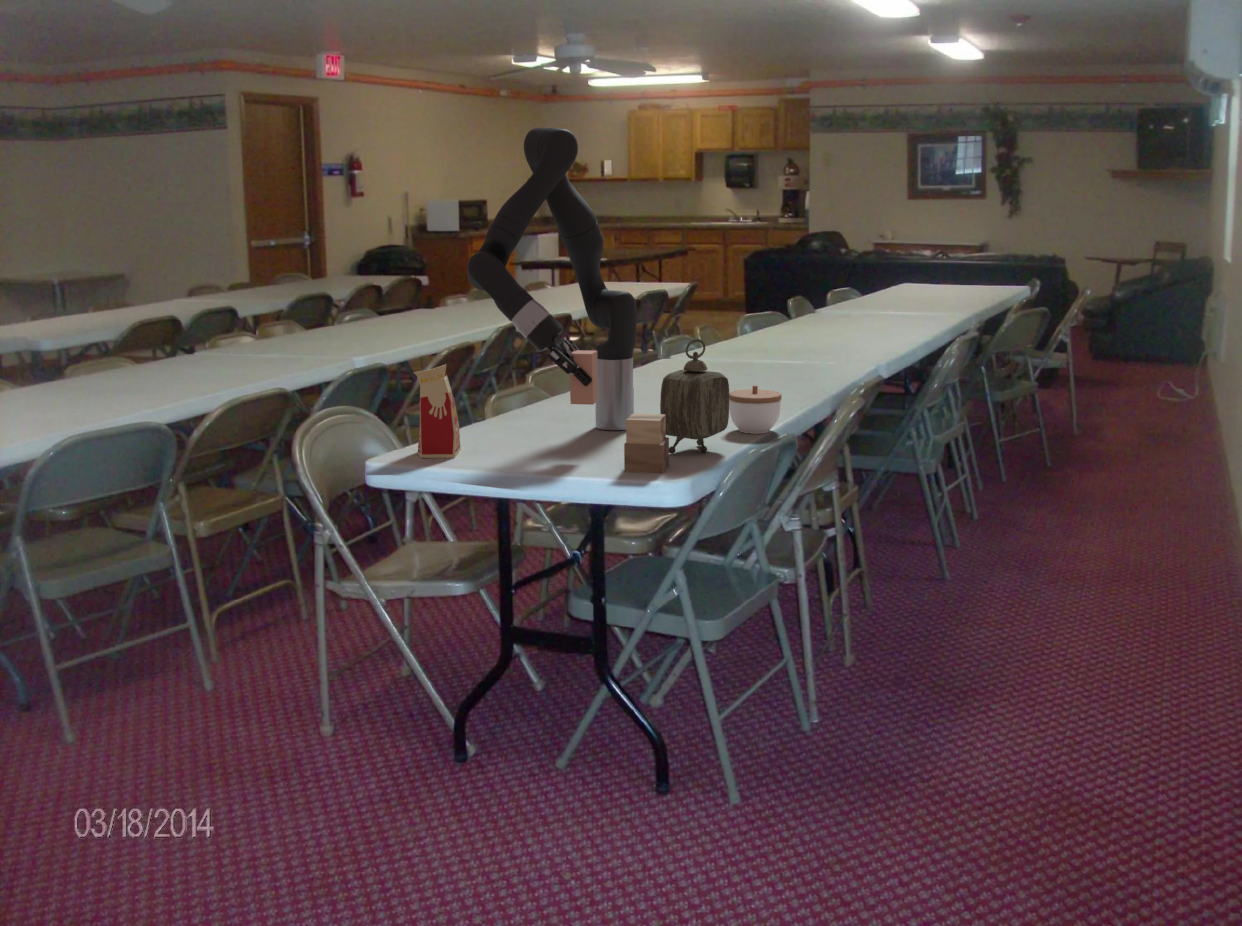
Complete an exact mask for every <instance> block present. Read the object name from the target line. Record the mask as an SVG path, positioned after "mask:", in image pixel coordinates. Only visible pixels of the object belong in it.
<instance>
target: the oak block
mask: <svg viewBox="0 0 1242 926" xmlns="http://www.w3.org/2000/svg"><path fill="white" fill-rule="evenodd" d="M625 433H626V434H625V436H626V437H625V438H626V439H625V440H626V441H625V443H626V444H654V445H660V444H661V443H662V442H663V440H664V439H665V438H666V437H667V435H666V415H665V414H658V413H634V414H632V415H631V416H630V417H629V418H627V419H626V430H625Z"/></svg>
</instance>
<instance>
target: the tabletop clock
mask: <svg viewBox="0 0 1242 926" xmlns="http://www.w3.org/2000/svg"><path fill="white" fill-rule="evenodd" d="M694 343H700V344H701V345H702V347H703V348H702V351H701V352H700V353H698V351H693V353H692V355H690V354H689V348H690V346H691V345H692V344H694ZM705 351H706V344H705V342H704V340H703V339H700V338H694V339H691V340H690V341H689V342H688V343H687V344H686V346H685V354H686V356H687V357H688V358H689V359H690V360H688V361H687V362H686V363H685V364H684V366H683V369H679V370H676V371H673V372H670V373H667V374H666V375H665V376H664V377H663V379H662V382H661V389H660V402H659V403H660V405H659V411H660V414H665V415H666V436H668V437H669V436H670V437H675V438H676V440H675V442H674V444H673V445H671V446H669V454H675V453H676V447H677V446H678V444H679V443H680V442H681V441H682V440H683V439H689V440H696V444H697V446H699V447H700V448H699V450H700V453H703V454H705V453H706V452H707V451H708V447H707V446H705V441H704V439H708V438H710V437H712V436H713V437H714V436H715V435H717V434H720V433H722V432H724V431H725V430H726V429H727V428H728V426H729V418H730V411H729V393H730V384H729V379H728V377H726V376H725V375H724V374H723V373H722V372H717V371H709V370H708V367H707V365H706V362H704V361H703V360H700V359H699V358H701V357H703V355H704V353H705Z"/></svg>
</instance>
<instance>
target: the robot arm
mask: <svg viewBox="0 0 1242 926" xmlns="http://www.w3.org/2000/svg"><path fill="white" fill-rule="evenodd" d="M578 151H579V145H578V141H577V138H576V136H575V135H574V134H573V132H571V130H568V129H566V128H565V129H564V128H559V127H542V126H541V127H535V128H532V129H530V130H529V131H528V132H527V134H526V135H525V137H524V141H523V152H524V156H525V157H524V158H525V160H526V162H527V164H528V166H529V168H530V171H531V172H532V174H531V175H530V176H529V178H528V179H527V180H526V182H524V184H523V185H521V186H520V188H518V189H517V190H516V191H515V192H514V193H513V194H512V195H511V196H510V197H509V198H508V199H507V200H506V202H504V203H503V205H502V206H501V207H500V209H499V210H498V211H497V214H496V215H495V216H494V219H493V221H492V222H491V224H490V226H489V228H488V229H487V232H486V235H485V239H484V242H483V244H482V245H481V247H480V249H479V250H478V252H475V253H474V254H472V256H471V257H470V258H469V260H468V263H467V280H468V282H469V284H470V285H471V286H472V287H473V288H474V289H476V290H478V291H485V293H487V294H488V295H489V297H490V298H491V299H492V300H493V301H494V303H495V306H496V307H497V309H498V310H499V311H500V312H501V314H503V315H504V316H505V318H507V319H508V321H510V322H511V324H512V325H513V326H514V327H515V329H516V330H517V331H518V332H519V334H521V335H522V336H523V337H524V338H525V339H526V340H527V341H528V342H529V343H530V345H532V346H533V347H534V348H535V349H536V350H537V351H538V352H539V353H543V352H544V351H545V350H546V349H547V350H548V351H549V354H548V355H547V357H548V358H549V360H551V361H552V362H553V363H555V365H557V366H558V367H559V368H560V369H561V370H562V371H563V372H565V374H566V375H570V374H571V375H573V374H574V376H575V377H576V378H577V379H578V380H579V381H580V382H581V383H582V384H583V385H584V386H588V385H589V384H590V383H591V382H592V378H591V377H590V376H589V375H588V374H587V373H586V372H585V371H584V370H583V369H582V368H580V365H579V364H578V363H577V362H576V361H575V360H574V359H575V357H574V356H573V355H572V352H573V351H577V350H580V348H579V347H578V346H577V345H576V343H575V342H574V341H573V340H571V339H569V340H567V339H564V338H563V337H562V336H561V334H563V332H564V330H565V329H564V328H565V327H564V326H563V324H561V323H560V322H559V321H558V319H556V318H555V317H554V316H553V315H552V314H551V313H550V312H549V311H548V310H547V309H546V308H545V307H544V306H543V305H542V304H541V303H540V302H538V301H537V300H536V299H535V298H534V297H533V296H532V295H531V294H530V293H529V292H528V291H527V290H526V289H524V287H523V286H521V285H520V284H519V282H518V281H516V279H515V278H514V276H513V275H512V273H511V272H510V271H509V270H508V269H507V265H508V262H509V260H510V258H511V255H512V253H513V252H514V251H515V249H516V247H517V246H518V244H519V243H520V241H521V239H522V238H523V235H524V234H525V232H526V230H527V228H528V227H529V225H530V224H531V221H532V220H533V218H534V216H535V215H536V213H537V212H538V210H539V209H540V208H541V206H542V205H543V203H544V202H545V201H546V202H547V206H548V208H549V210H550V213H551V215H552V217H553V220H554V222H555V225H556V228H557V231H558V233H559V236H560V238H561V240H562V242H561V243H562V245H563V246H564V249H565V251H566V254H567V255H568V258H569V260H570V263H571V266H572V269H573V271H574V275H575V277H576V280H577V283H578V286H579V291H580V294H581V298H582V301H583V304H584V308H585V311H586V315H587V317H588V319H589V321H590V323H591V324H592V325H593V326H594V327H596V328H600V329H607V330H609V333H608V339H607V340H606V341H604V342H602V343H599V344H597V345H596V346H595V348H594V351H597V364H598V401H597V402H596V403H595V428H597V429H598V430H603V431H626V419H627V418H629V417H630V416H631V415H632V414H635V413H634V412H635V408H634V406H635V404H634V402H635V401H634V399H635V395H634V350H635V347H636V341H637V326H638V325H637V322H638V306H637V302H636V300H635V297H634V296H633V294H632V293H630V292H629V291H624V290H611V289H610V290H609V289H608V288H607V286H606V284H605V282H604V279H603V275H602V272H601V267H600V266H601V261H602V256H603V253H604V244H605V243H604V241H605V240H604V236H603V233H602V229H601V227H600V224H599V222H598V219H597V217H596V214H595V212H594V210H593V209H592V208H591V206H590V205H589V203H588V202H587V201H586V200H585V198H584V197H582V195H581V194H580V193H579V192H578V191H577V190H576V188H575V187H574V186H573V184H572V183H571V182H570V180H569V178H568V176H567V173H568V172H569V170H570V169H571V167H572V166H573V164H574V163H575V161H576V158H577V155H578V153H579V152H578ZM579 368H580V369H579Z"/></svg>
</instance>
